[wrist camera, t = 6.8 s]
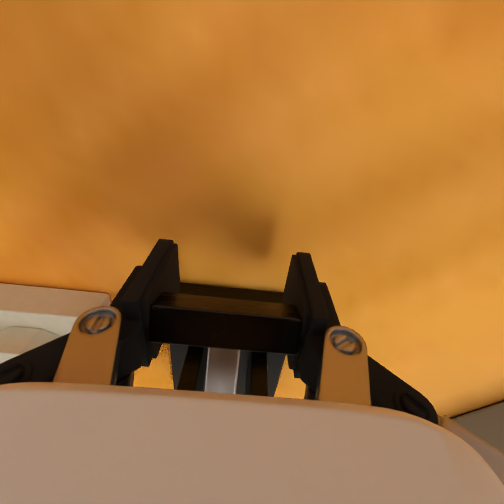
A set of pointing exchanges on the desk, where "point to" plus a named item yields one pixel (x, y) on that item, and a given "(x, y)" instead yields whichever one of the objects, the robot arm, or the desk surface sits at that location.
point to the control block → (39, 315)
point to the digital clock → (486, 424)
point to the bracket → (250, 363)
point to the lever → (225, 331)
